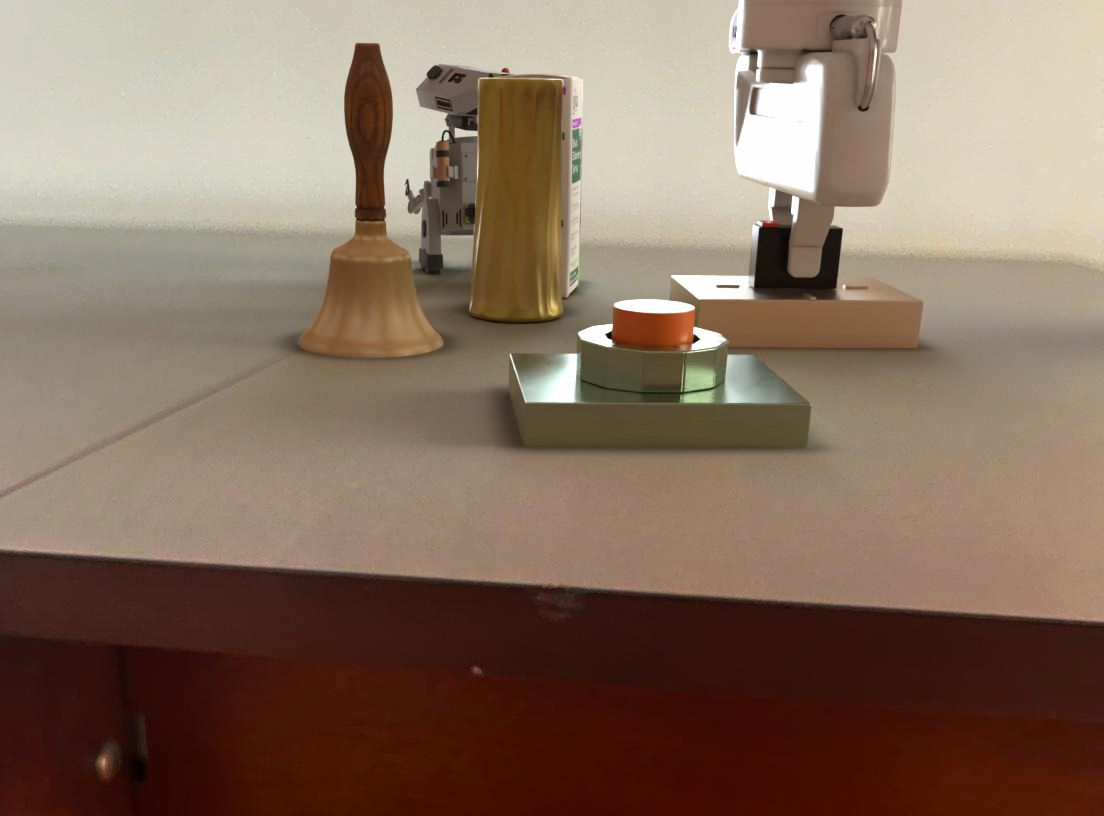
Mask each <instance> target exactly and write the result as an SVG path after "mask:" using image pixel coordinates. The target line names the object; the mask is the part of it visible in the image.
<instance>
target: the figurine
mask: <svg viewBox="0 0 1104 816" xmlns="http://www.w3.org/2000/svg"><path fill="white" fill-rule="evenodd" d="M509 75H516V74H514V73H510V69H509V68H508V67H503V68H502V69H501V70H500V71H498V70H492V69H485V68H481V67H475V66H468V65H461V64H460V65H459V64H445V63H444V64H443V63H442V64H441V63H438V64H435V65H433V66H432V67H431V68H429V70H428V71H427V72H426V75H425V76H426V77H425V78H424V79H423V80H422V82H421V83H420V84H419V85H418V86H417V87H416V88H415V92H416V96H417V101H418V104H419V107H420V108H423V109H424V108H425V109H428V110H432V111H436V112H440V113H444V114H446V116H445V118H444V122H445V125H446V127H448V129H444V130H443V131H442V134H441V138H440V139H441V140H438V141H435V145H434V147H432V148H430V150H429V179H430V180H424V181H423V188H420V189H419V190H418V193H419V194H416V196H415V194H414V192H413V190H411V188H410V187H411V186H410V179H409V178H406V179H405V183H404V186H406V187H405V192H404V196H406V197H407V199H408V202H407V212H408V214H410V215H411V214H414V215H419V213H420V212H421V221H420V225H421V226H420V248H419V249H418V250H419V251H418V263H419V264H420V268H421V269H422V270H423V271H424V270H425V272H426V273H427V274H441V273H442V270H444V255H443V253H442V236H455V237H457V236H458V237H459V236H462V237H463V236H474V224H475V204H476V190H477V138H478V135H471V136H470V135H469V136H458V137H456V130H455V129H459V130H463V131H467V132H478V80H479V78H493V77H501V76H509ZM446 133H448V139H446V140H445V134H446Z"/></svg>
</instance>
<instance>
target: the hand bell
mask: <svg viewBox="0 0 1104 816" xmlns="http://www.w3.org/2000/svg"><path fill="white" fill-rule="evenodd" d="M344 86H345V87H344V96H343V98H344V99H343V106H344V107H343V115H344V116H343V117H344V126H345V132H346V133H345V134H346V137H347V143H348V146H349V149H350V152H351V155H352V158H353V164H354V170H355V193H354V195H355V197H354V200H355V201H354V204H355V206H356V207H355V209H354V218H355V222H354V223H355V226H354V228H355V229H354V234H353V236H352V237H351V238H350V239H349V240H348V241H346V242H344V243H343V244H341V245H338V246H337V247H335V248H334V249H332V251H331V253H330V258H329V259H330V260H329V271H328V277H327V283H326V284H327V285H326V289H325V294H324V297H323V300H322V304H321V306H320V309H319V311H318V313H317V315H316V317H315V318H314V320H313V321H312V323H311V324H310V325H309V327H308V328H307V329H305V330H304V331H303V333H302V334H301V335H300V337H299V339H298V342H297V345H298V347H299V348H301V349H303V350H305V351H307V352H311V353H315V354H318V355H319V354H320V355H325V356H332V357H333V356H334V357H341V358H342V357H343V358H361V359H363V358H364V359H378V358H381V359H382V358H399V357H409V356H416V355H423V354H428V353H432V352H435V351H437V350H439V349H441V348H442V347H443V346H444V345H445V343H444V340H443V338H442V337H441V335H440V334H439V332H437V331H436V330H435V329H434V328H433V326H431V323H429V321H428V320H427V319H428V318H427V317H426V315H425V313H424V312H423V310H422V307H421V304H420V302H419V298H418V295H417V289H416V286H415V280H414V273H413V264H412V255H411V253H410V252H409V251H408V250H407V249H406V248H404V247H402V246H400V245H399V244H398V243H396V242H394V241H393V240H392V239H391V238H390V237H389V235H388V232H387V221H386V218H387V209H386V208H385V206H386V194H385V193H386V191H385V164H386V159H387V156H388V151H389V147H390V143H391V139H392V134H393V133H392V132H393V124H394V123H393V121H394V102H393V101H394V100H393V92H392V85H391V82H390V79H389V74H388V72H387V69H386V66H385V63H384V59H383V55H382V51H381V45H380V43H376V42H356V43H355V44H354V50H353V56H352V60H351V64H350V67H349V70H348V74H347V77H346V81H345V85H344Z"/></svg>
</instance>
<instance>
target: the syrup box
mask: <svg viewBox="0 0 1104 816" xmlns="http://www.w3.org/2000/svg"><path fill="white" fill-rule="evenodd" d="M493 78H531V79H562V80H563V105H562V169H561V238H562V289H561V292H562V298H564V299H565V298H569V296H570V294H571V293H572V292H573V291H574V290H575V289H576V288H577V287H578V285H579V284H580V271H581V270H580V269H581V267H580V265H581V222H582V217H581V216H582V182H583V181H582V180H583V179H582V176H583V173H582V172H583V129H584V127H583V123H584V115H583V114H584V79H583V77H581V76H576V75H566V74H554V73H553V74H551V73H522V74H521V73H520V74H515V75H509V76H501V77H493Z"/></svg>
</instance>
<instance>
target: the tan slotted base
mask: <svg viewBox="0 0 1104 816" xmlns="http://www.w3.org/2000/svg"><path fill="white" fill-rule="evenodd" d="M669 301H676V302H682V303H686V304H690V305H692V306H694V307H695V320H694V327H696V328H700V329H704V330H708V331H712V332H716V333H720V334H721V335H722V336H723V337H724V338H726V339H727V340H728V342H729V343H728V348H806V349H807V348H812V349H813V348H816V349H818V348H820V349H821V348H823V349H824V348H825V349H826V348H827V349H828V348H829V349H830V348H831V349H833V348H834V349H838V348H839V349H918V346H919V339H920V330H921V324H922V316H923V309H924V308H923V307H924V301H923V300H922V299H919V298H918V297H916V296H914V295H911V294H910V293H907V292H905V291H902V290H901V289H898V288H896V287H894V286H892V285H890V284H888V283H886V282H883V281H881V280H879V279H877V278H875V277H870V276H869V277H864V276H863V277H861V276H859V277H856V276H852V277H851V276H838V279H837V288H836V289H785V288H753V287H752V286H750V285H749V284H748V275H677V274H675V275H671V277H670V288H669Z"/></svg>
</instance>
